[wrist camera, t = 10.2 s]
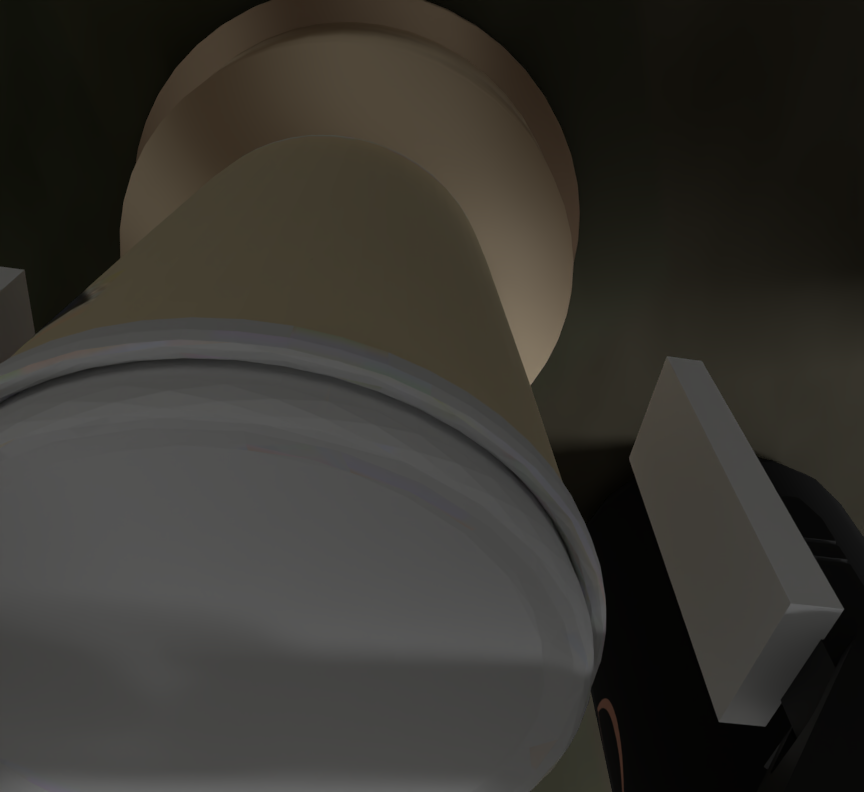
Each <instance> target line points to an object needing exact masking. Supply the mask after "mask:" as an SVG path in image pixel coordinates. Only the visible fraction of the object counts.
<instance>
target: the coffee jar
mask: <svg viewBox="0 0 864 792" xmlns="http://www.w3.org/2000/svg"><path fill="white" fill-rule="evenodd" d="M757 458H758V457H757ZM758 460H759V461H760V463H761V465H762V467H763V468H764V470H765V472H766V474H767V475H768V477H769V479H770V481H771V482H772V484H773V486H774V488H775V489H776V491H777V493H778V495H780V496H789V497H797V498H800V499H801V500H802V501H803V502H804V503H805V504H806V505H808V506H809V507H810V508H811V509H812V510H813V511H814V512H815V513H816V514H817V515H819V516H820V517H821V518H822V519H823V521H824V523H825V524H826V526H827V527H828V529H829V531H830V532H831V534H832V535H833V537H834V539H835V540H836V545H838V546H839V547H840V548H841V550H842V552H843V553H844V555H845V556H846V558H847V564H851V566H852V568H853V569H854V571H855V572H856V574H857V576H858V577H859V579H860V580H861V582H862V584H863V585H864V537H863V536H862V534H861V533H860V531H859V530H858V529H857V527H856V526H855V524H854V523H853V521H852V520H851V518H850V517H849V516H848V514H847V513H846V511H845V510H844V508H843V507H842V505H841V504H840V503H839V502H838V501H837V500H836V499H835V498H834V497H833V496H832V495H831V494H830V493H829V492H828V491H827V490H826V489H825V488H824V487H823V486H822V485H821V484H820V483H819V482H818V481H817V480H816V479H814V478H812V477H810V476H808V475H806V474H803V473H801V472H798V471H796V470H794V469H791V468H789V467H786V466H784V465H782V464H779V463H777V462H774V461H772V460H766V459H761V458H758ZM586 527H587V529H588V532H589V534H590V536H591V539H592V542H593V545H594V548H595V551H596V554H597V557H598V560H599V563H600V567H601V572H602V578H603V585H604V591H605V599H606V636H605V641H604V647H603V652H602V658H601V662H600V665H599V667H598V670H597V673H596V676H595V679H594V682H593V684H592V687H591V693H592V698H593V703H594V708H595V712H596V717H597V722H598V726H599V731H600V736H601V741H602V745H603V750H604V755H605V759H606V764H607V769H608V774H609V778H610V783H611V788H612V792H757V790H758V788H759V786H760V784H761V782H762V780H763V778H764V776H765V774H766V772H767V770H768V769H766V768H765V767H764V765H765V764H766V762H767V761H768V760H769V758H770V757H771V755H772V754H773V752H774V751H775V750H776V748H777V747H778V745H779V744H780V742H781V741H782V740H783V738H784V737H785V735H786V734H787V732H788V731H789V730H790V728H791V727H792V726H791V724H790V721H789V719H788V717H787V714H786V712H785V710H784V707H783V705H782V703H781V704H780V706H779V707H778V709H777V710H776V712H775V713H774V715H773V716H772V718H771V719H770V721H769V722H768V724H767V725H766V727H764V726H754V725H744V724H734V723H723V722H719V721H718V718H717V715H716V712H715V709H714V707H713V704H712V701H711V698H710V695H709V692H708V689H707V686H706V683H705V680H704V677H703V674H702V671H701V668H700V665H699V663H698V660H697V657H696V654H695V651H694V648H693V645H692V642H691V639H690V636H689V633H688V630H687V627H686V624H685V622H684V619H683V616H682V613H681V610H680V607H679V604H678V601H677V598H676V595H675V592H674V589H673V586H672V583H671V581H670V578H669V575H668V572H667V569H666V566H665V563H664V560H663V557H662V554H661V551H660V548H659V545H658V542H657V539H656V537H655V534H654V531H653V528H652V525H651V522H650V519H649V516H648V513H647V510H646V507H645V504H644V501H643V498H642V496H641V493H640V490H639V487H638V484H637V481H636V478H633V479H632V480H630V481H629V482H628V483H626V484H625V485H623V486H622V487H621V488H619V489H618V490H616V491H615V492H614V493H612V494H611V495H610V496H608V498H607V499H606V500H605V501H604V503H603V504H602V505H601V507H600V508H599V509H598V510H597V512H596V513H595V514H594V516H593V517H592V518H591V519H590V521H589V522H588V524H587V526H586Z"/></svg>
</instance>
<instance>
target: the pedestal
mask: <svg viewBox="0 0 864 792" xmlns="http://www.w3.org/2000/svg"><path fill="white" fill-rule="evenodd" d="M306 135H337V136H345V137H353V138H357V139H361V140H366V141H370V142H374V143H376V144H379V145H382V146H384V147H387V148H389V149H392V150H394V151H396V152H398V153H400V154H402V155H404V156H406V157H407V158H409V159H411V160H412V161H414V162H416V163H417V164H419V165H420V166H421V167H423V168H424V169H425V170H427V171H428V172H429V173H431V174H432V175H433V176H434V177H435V178H436V179H437V180H438V181H439V182H440V183H441V184H442V185H443V186H444V187H445V188H446V189H447V190H448V191H449V192H450V194H451V195H452V196H453V197H454V198H455V200H456V201H457V202H458V203H459V205H460V206H461V208H462V210H463V211H464V213H465V215H466V216H467V218H468V220H469V222H470V224H471V226H472V228H473V230H474V232H475V234H476V236H477V239H478V241H479V244H480V246H481V249H482V251H483V254H484V256H485V259H486V261H487V264H488V266H489V269H490V272H491V275H492V278H493V281H494V283H495V286H496V289H497V292H498V295H499V298H500V301H501V303H502V306H503V309H504V312H505V315H506V318H507V320H508V323H509V326H510V329H511V332H512V335H513V338H514V340H515V343H516V346H517V349H518V352H519V355H520V357H521V360H522V363H523V366H524V369H525V372H526V374H527V377H528V380H529V383H530V385H531V384H532V383H533V381H534V380H535V378H536V377H537V375H538V374H539V373H540V371H541V370H542V368H543V367H544V365H545V364H546V362H547V360H548V358H549V357H550V355H551V353H552V351H553V349H554V347H555V345H556V343H557V341H558V339H559V336H560V333H561V330H562V327H563V324H564V321H565V319H566V316H567V311H568V306H569V301H570V296H571V291H572V278H573V264H574V259H575V254H576V249H577V244H578V235H579V218H580V208H579V195H578V183H577V179H576V174H575V169H574V165H573V160H572V156H571V153H570V150H569V147H568V145H567V142H566V139H565V136H564V134H563V131H562V128H561V126H560V124H559V122H558V120H557V118H556V117H555V115H554V113H553V111H552V109H551V107H550V105H549V103H548V102H547V100H546V98H545V96H544V95H543V93H542V92H541V91H540V89H539V88H538V87H537V85H536V84H535V82H534V81H533V80H532V78H531V77H530V75H529V74H528V73H527V71H526V70H525V69H524V68H523V67H522V66H521V65H520V64H519V63H518V61H517V60H516V59H515V58H514V57H513V56H512V55H511V54H510V53H509V52H508V51H507V50H506V49H505V48H504V47H503V46H502V45H501V44H499V43H498V42H497V41H496V40H494V39H493V38H492V37H490V36H489V35H488V34H487V33H485V32H484V31H483V30H481V29H480V28H479V27H478V26H476V25H474V24H473V23H471V22H469V21H468V20H466V19H464V18H462V17H461V16H459V15H457V14H455V13H454V12H452V11H450V10H448V9H446V8H444V7H441V6H439V5H436V4H434V3H431V2H429V1H426V0H270V1H267V2H265V3H262V4H259V5H257V6H254V7H253V8H251V9H249V10H247V11H246V12H244V13H242V14H240V15H239V16H237V17H235V18H233V19H232V20H230V21H228V22H226V23H225V24H223V25H221V26H220V27H219V28H218V29H216V30H215V31H214V32H213V33H211V34H210V35H209V36H208V37H206V38H205V39H204V40H203V41H201V42H200V43H199V44H198V45H196V47H195V48H194V49H193V50H192V51H191V52H190V53H189V54H188V55H187V56H186V57H185V59H184V60H183V61H182V62H181V63H180V64H179V65H178V66H177V67H176V68H175V70H174V71H173V73H172V74H171V76H170V77H169V79H168V80H167V82H166V83H165V85H164V86H163V88H162V89H161V91H160V92H159V94H158V96H157V98H156V101H155V103H154V105H153V107H152V109H151V111H150V114H149V116H148V118H147V120H146V123H145V126H144V130H143V133H142V137H141V140H140V143H139V147H138V151H137V158H136V165H135V167H134V169H133V171H132V174H131V177H130V181H129V184H128V188H127V191H126V195H125V198H124V202H123V210H122V217H121V224H120V258H121V257H122V256H124V255H125V254H126V253H127V252H128V251H129V250H130V249H131V248H133V247H134V246H135V245H136V244H137V243H138V242H139V241H140V240H141V239H143V238H144V237H145V236H146V235H147V234H148V233H150V232H151V231H152V230H153V229H154V228H155V227H156V226H158V225H159V224H160V223H161V222H162V221H163V220H164V219H166V218H167V217H168V216H169V215H170V214H171V213H173V212H174V211H175V210H176V209H177V208H178V207H179V206H181V205H182V204H183V203H184V202H185V201H186V200H188V199H189V198H190V197H191V196H192V195H193V194H194V193H196V192H197V191H198V190H199V189H200V188H201V187H202V186H204V185H205V184H206V183H207V182H208V181H209V180H211V179H212V178H213V177H214V176H216V175H217V174H218V173H220V172H221V171H222V170H224V169H225V168H227V167H228V166H229V165H231V164H232V163H234V162H235V161H237V160H238V159H239V158H241V157H242V156H244V155H246V154H248V153H250V152H252V151H254V150H255V149H257V148H260V147H262V146H265V145H268V144H270V143H273V142H276V141H280V140H284V139H288V138H293V137H299V136H306Z"/></svg>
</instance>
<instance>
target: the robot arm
mask: <svg viewBox="0 0 864 792" xmlns="http://www.w3.org/2000/svg"><path fill="white" fill-rule="evenodd" d="M34 335H35V330H34V324H33V318H32V312H31V306H30V300H29V294H28V288H27V282H26V276H25V270H22V269H15V268H7V267H0V363H2V362H4V361H6V360H7V359H9V358H10V357H11V356H12V355H14V354H15V353H16V352H17V351H18V350H19V349H20V348H21V347H22V346H23V345H24V344H25V343H26V342H27V341H28V340H30V339H31V338H32V337H33V336H34ZM629 460H630V463H631V466H632V469H633V472H634V475H635V478H636V481H637V484H638V487H639V490H640V493H641V496H642V498H643V501H644V504H645V507H646V510H647V513H648V516H649V519H650V522H651V525H652V528H653V531H654V534H655V537H656V539H657V542H658V545H659V548H660V551H661V554H662V557H663V560H664V563H665V566H666V569H667V572H668V575H669V578H670V581H671V583H672V586H673V589H674V592H675V595H676V598H677V601H678V604H679V607H680V610H681V613H682V616H683V619H684V622H685V624H686V627H687V630H688V633H689V636H690V639H691V642H692V645H693V648H694V651H695V654H696V657H697V660H698V663H699V665H700V668H701V671H702V674H703V677H704V680H705V683H706V686H707V689H708V692H709V695H710V698H711V701H712V704H713V707H714V709H715V712H716V715H717V718H718V721H719V722H723V723H734V724H744V725H754V726H764V727H766V725H767V724H768V722H769V721H770V719H771V718H772V716H773V715H774V713H775V712H776V710H777V709H778V707H779V706H780V704H781V703H782V705H783V707H784V710H785V712H786V714H787V717H788V719H789V721H790V724H791V726H792V727H791V728H790V730H789V731H788V732H787V734H786V735H785V737H784V738H783V740H782V741H781V742H780V744H779V745H778V747H777V748H776V750H775V751H774V752H773V754H772V755H771V757H770V758H769V760H768V761H767V762H766V764H765V765H764V767H765V768H766V769H768V770H767V772H766V774H765V776H764V778H763V780H762V782H761V784H760V786H759V788H758V790H757V792H864V585H863V584H862V582H861V580H860V579H859V577H858V576H857V574H856V572H855V571H854V569H853V568H852V566H851V564H847V558H846V556H845V555H844V553H843V552H842V550H841V548H840V547H839V546H838V545H836V540H835V539H834V537H833V535H832V534H831V532H830V531H829V529H828V527H827V526H826V524H825V523H824V521H823V519H822V518H821V517H820V516H819V515H817V514H816V513H815V512H814V511H813V510H812V509H811V508H810V507H809V506H808V505H806V504H805V503H804V502H803V501H802V500H801V499H800V498H797V497H789V496H780V495H778V493H777V491H776V489H775V488H774V486H773V484H772V482H771V481H770V479H769V477H768V475H767V474H766V472H765V470H764V468H763V467H762V465H761V463H760V461H759V460H758V458H757V456H756V455H755V453H754V451H753V449H752V448H751V446H750V444H749V442H748V441H747V439H746V437H745V435H744V434H743V432H742V430H741V428H740V427H739V425H738V423H737V421H736V420H735V418H734V416H733V414H732V413H731V411H730V409H729V407H728V406H727V404H726V402H725V400H724V399H723V397H722V395H721V393H720V392H719V390H718V388H717V386H716V385H715V383H714V381H713V380H712V378H711V376H710V374H709V373H708V371H707V369H706V367H705V366H704V364H703V362H702V361H698V360H691V359H683V358H676V357H669V356H667V357H666V360H665V363H664V365H663V368H662V371H661V373H660V376H659V379H658V381H657V384H656V387H655V389H654V392H653V395H652V397H651V400H650V403H649V406H648V408H647V411H646V414H645V416H644V419H643V422H642V424H641V427H640V430H639V432H638V435H637V438H636V440H635V443H634V446H633V449H632V451H631V454H630V457H629Z"/></svg>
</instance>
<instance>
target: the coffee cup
mask: <svg viewBox="0 0 864 792" xmlns="http://www.w3.org/2000/svg"><path fill="white" fill-rule="evenodd" d="M605 636H606V599H605V591H604V585H603V578H602V572H601V567H600V563H599V560H598V557H597V554H596V551H595V548H594V545H593V542H592V539H591V536H590V534H589V532H588V529H587V527H586V524H585V522H584V520H583V518H582V516H581V514H580V512H579V510H578V508H577V506H576V504H575V502H574V500H573V498H572V496H571V494H570V493H569V491H568V490H567V488H566V487H565V485H564V484H563V482H562V479H561V476H560V473H559V470H558V467H557V464H556V461H555V458H554V455H553V452H552V449H551V446H550V443H549V440H548V437H547V434H546V431H545V428H544V425H543V422H542V419H541V416H540V413H539V410H538V407H537V404H536V401H535V398H534V395H533V392H532V389H531V386H530V383H529V380H528V377H527V374H526V372H525V369H524V366H523V363H522V360H521V357H520V355H519V352H518V349H517V346H516V343H515V340H514V338H513V335H512V332H511V329H510V326H509V323H508V320H507V318H506V315H505V312H504V309H503V306H502V303H501V301H500V298H499V295H498V292H497V289H496V286H495V283H494V281H493V278H492V275H491V272H490V269H489V266H488V264H487V261H486V259H485V256H484V254H483V251H482V249H481V246H480V244H479V241H478V239H477V236H476V234H475V232H474V230H473V228H472V226H471V224H470V222H469V220H468V218H467V216H466V215H465V213H464V211H463V210H462V208H461V206H460V205H459V203H458V202H457V201H456V200H455V198H454V197H453V196H452V195H451V194H450V192H449V191H448V190H447V189H446V188H445V187H444V186H443V185H442V184H441V183H440V182H439V181H438V180H437V179H436V178H435V177H434V176H433V175H432V174H431V173H429V172H428V171H427V170H425V169H424V168H423V167H421V166H420V165H419V164H417V163H416V162H414V161H412V160H411V159H409V158H407V157H406V156H404V155H402V154H400V153H398V152H396V151H394V150H392V149H389V148H387V147H384V146H382V145H379V144H376V143H374V142H370V141H366V140H361V139H357V138H353V137H345V136H337V135H306V136H299V137H293V138H288V139H284V140H280V141H276V142H273V143H270V144H268V145H265V146H262V147H260V148H257V149H255V150H254V151H252V152H250V153H248V154H246V155H244V156H242V157H241V158H239V159H238V160H237V161H235V162H234V163H232V164H231V165H229V166H228V167H227V168H225V169H224V170H222V171H221V172H220V173H218V174H217V175H216V176H214V177H213V178H212V179H211V180H209V181H208V182H207V183H206V184H205V185H204V186H202V187H201V188H200V189H199V190H198V191H197V192H196V193H194V194H193V195H192V196H191V197H190V198H189V199H188V200H186V201H185V202H184V203H183V204H182V205H181V206H179V207H178V208H177V209H176V210H175V211H174V212H173V213H171V214H170V215H169V216H168V217H167V218H166V219H164V220H163V221H162V222H161V223H160V224H159V225H158V226H156V227H155V228H154V229H153V230H152V231H151V232H150V233H148V234H147V235H146V236H145V237H144V238H143V239H141V240H140V241H139V242H138V243H137V244H136V245H135V246H134V247H133V248H131V249H130V250H129V251H128V252H127V253H126V254H125V255H124V256H122V257H121V258H120V259H119V260H118V261H117V262H116V263H115V264H113V265H112V266H111V267H110V268H109V269H108V270H107V271H106V272H104V273H103V274H102V275H101V276H100V277H99V278H98V279H97V280H96V281H94V282H93V283H92V284H91V285H90V286H89V287H88V288H87V289H85V290H84V291H83V292H82V293H81V294H80V295H79V296H78V297H76V298H75V299H74V300H73V301H72V302H71V303H70V304H69V305H67V306H66V307H65V308H64V309H63V310H62V311H61V312H60V313H59V314H57V315H56V316H55V317H54V318H53V319H52V320H51V321H50V322H48V323H47V324H46V325H45V326H44V327H43V328H42V329H41V330H40V331H38V332H37V333H36V334H35V335H34V336H33V337H32V338H31V339H30V340H28V341H27V342H26V343H25V344H24V345H23V346H22V347H21V348H20V349H19V350H18V351H17V352H16V353H15V354H14V355H12V356H11V357H10V358H9V359H7V360H6V361H4V362H2V363H0V792H530V791H531V790H532V789H533V788H534V787H535V786H536V785H537V784H538V783H539V782H540V781H541V780H542V779H543V778H544V777H545V776H546V775H547V774H548V773H550V772H551V771H552V770H553V768H554V767H555V765H556V764H557V763H558V761H559V760H560V758H561V757H562V755H563V754H564V753H565V751H566V750H567V748H568V747H569V745H570V744H571V742H572V740H573V738H574V736H575V734H576V733H577V731H578V729H579V726H580V724H581V721H582V718H583V716H584V713H585V710H586V708H587V705H588V703H589V699H590V693H591V687H592V684H593V682H594V679H595V676H596V673H597V670H598V667H599V665H600V662H601V658H602V652H603V647H604V641H605Z"/></svg>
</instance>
